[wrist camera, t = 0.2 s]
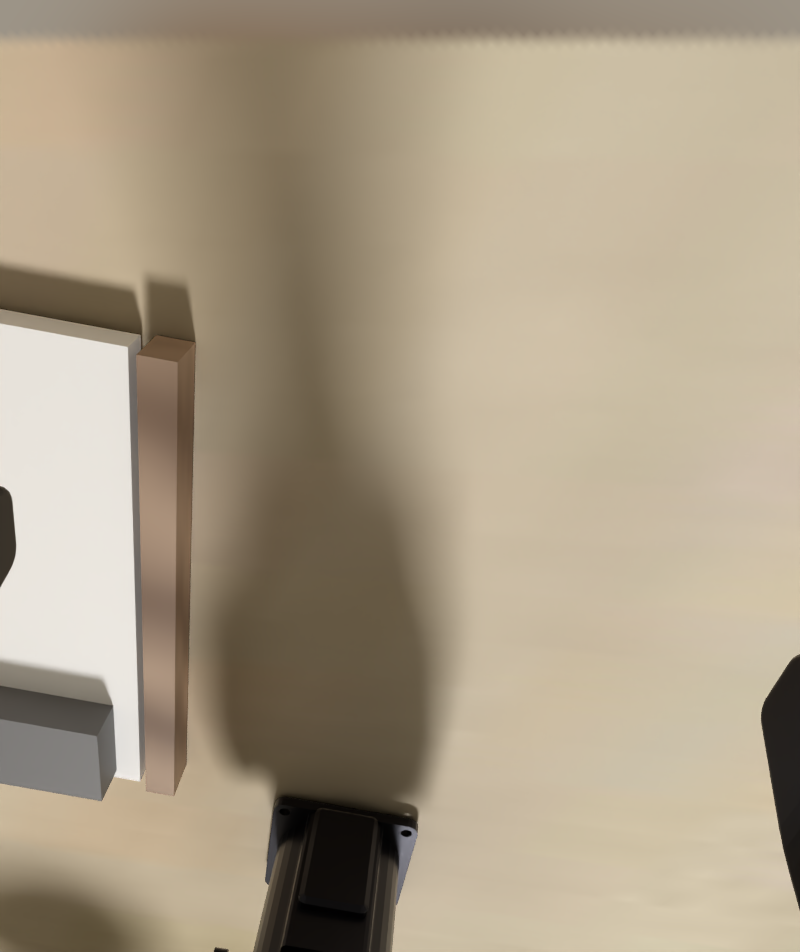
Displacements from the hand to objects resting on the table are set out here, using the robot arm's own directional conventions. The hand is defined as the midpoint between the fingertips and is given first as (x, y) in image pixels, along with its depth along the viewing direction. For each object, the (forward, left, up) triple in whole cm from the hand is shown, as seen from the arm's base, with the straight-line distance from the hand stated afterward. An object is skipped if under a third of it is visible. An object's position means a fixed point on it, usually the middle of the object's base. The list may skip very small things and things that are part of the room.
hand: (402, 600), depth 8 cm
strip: (-14, +12, -15) cm, 23 cm away
